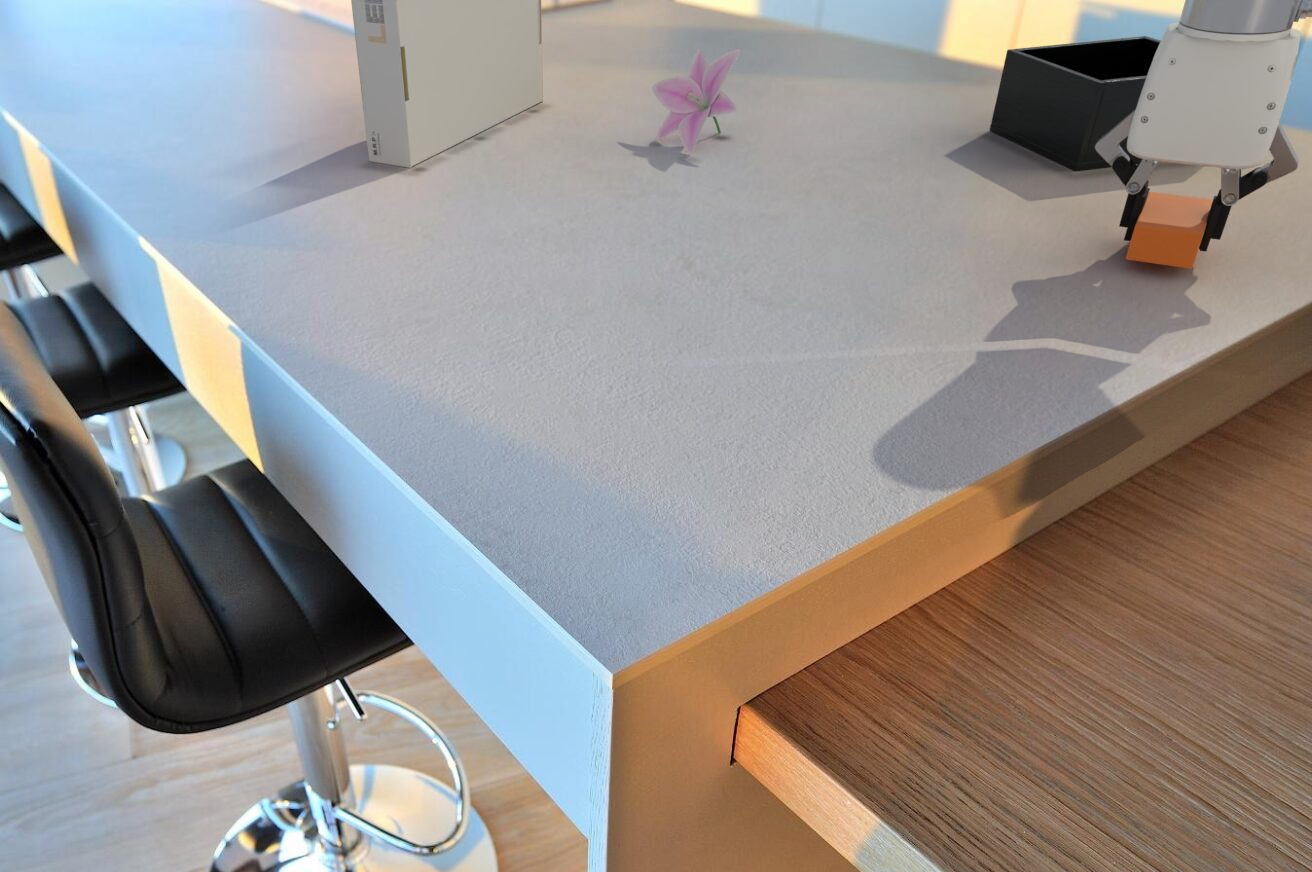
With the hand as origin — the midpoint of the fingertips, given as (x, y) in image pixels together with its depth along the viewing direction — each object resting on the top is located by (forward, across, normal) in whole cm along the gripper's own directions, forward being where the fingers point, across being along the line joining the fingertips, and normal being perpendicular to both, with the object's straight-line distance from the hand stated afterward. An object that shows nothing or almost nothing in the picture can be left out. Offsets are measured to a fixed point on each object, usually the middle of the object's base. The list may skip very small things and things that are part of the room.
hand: (1166, 238), depth 93 cm
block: (+1, 0, 0) cm, 1 cm away
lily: (+1, +51, -15) cm, 53 cm away
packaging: (+1, +78, -7) cm, 78 cm away
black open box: (+2, +10, -33) cm, 34 cm away
